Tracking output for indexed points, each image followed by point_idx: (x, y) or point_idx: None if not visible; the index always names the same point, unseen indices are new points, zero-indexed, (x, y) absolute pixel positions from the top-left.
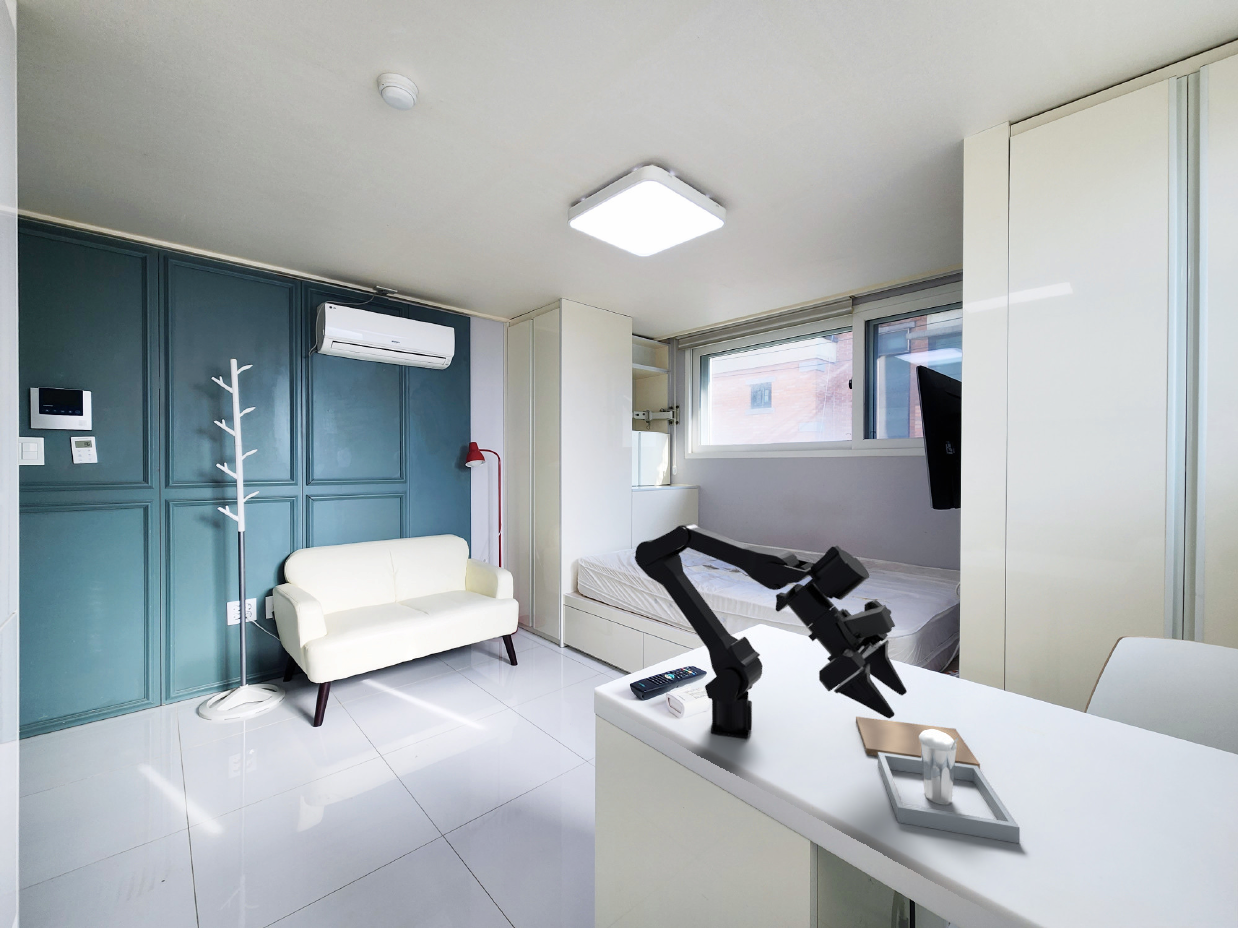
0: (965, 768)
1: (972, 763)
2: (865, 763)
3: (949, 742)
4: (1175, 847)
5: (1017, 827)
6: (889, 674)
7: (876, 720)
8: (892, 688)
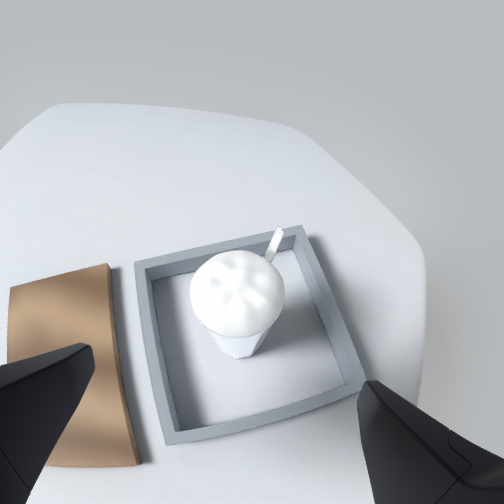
0: (146, 282)
1: (107, 274)
2: (182, 466)
3: (258, 259)
4: (207, 129)
5: (301, 227)
6: (34, 402)
7: None
8: (78, 399)
